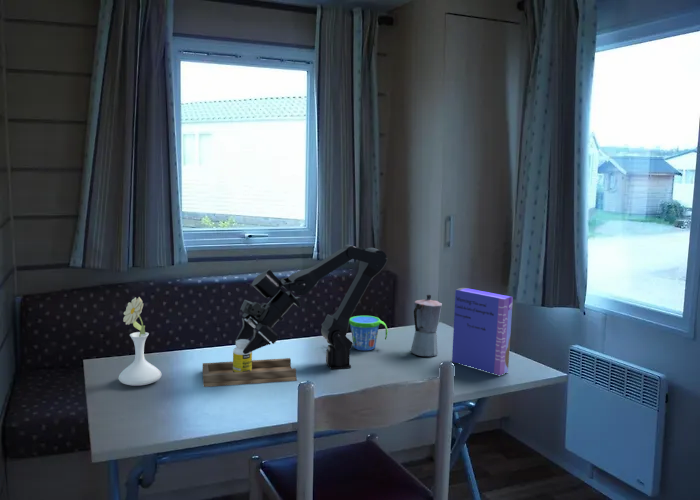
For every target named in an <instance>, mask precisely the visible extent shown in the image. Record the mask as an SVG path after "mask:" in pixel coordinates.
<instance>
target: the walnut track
mask: <svg viewBox="0 0 700 500" xmlns="http://www.w3.org/2000/svg"><path fill="white" fill-rule="evenodd" d="M291 360H292V359H291V358H290V357H289V358H288V357H287V358H286V357H285V358H271V359H252V371H246V372H233V361H219V362H202V383H203V384H202V385H203V388H207V387H210V388H211V387H225V386H236V385H237V386H238V385H239V386H240V385H252V384H253V385H254V384H267V383H268V384H269V383H280V382H295V381H296V382H297V381H298V380H297V379H298V378H297V369H296V368H295V367H294V368H292V366H291V365H292V363H291Z"/></svg>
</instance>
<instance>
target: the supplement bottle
mask: <svg viewBox="0 0 700 500" xmlns="http://www.w3.org/2000/svg"><path fill="white" fill-rule="evenodd" d="M235 341H236V340H235ZM249 342H250V340H249V339H247V340H246V339H240V340H237V341H236V344H235V347H234V349H233V351H232V362H233V372H246V371H252V360H253V351H252V352H249V353H247V354H244V353H243V350H244V349H245V347H246V346H247V344H248V343H249Z"/></svg>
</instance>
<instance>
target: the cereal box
mask: <svg viewBox="0 0 700 500" xmlns="http://www.w3.org/2000/svg"><path fill="white" fill-rule="evenodd" d="M513 298H514V297H513V296H509V295H503V294H499V293H493V292H489V291H484V290H483V291H482V290H478V289H472V288H468V287H459V288H457V289H455V293H454V317H453V333H452V334H453V336H452V355H451V363H453V362H454V363H453V364H456V363H460V364H463V365H467V366H471V367H474V368H477V369H481V370H484V371H487V372H490V373H494V374H497V375H502V374H504V373H507V372H508V373H509V361H510V345H511V333H512V332H511V331H512V330H511V329H512V317H513V315H512V314H513V313H512V312H513V304H514V303H513V302H514V301H513V300H514V299H513ZM463 365H462V366H463ZM508 373H507V374H508ZM502 376H503V375H502Z"/></svg>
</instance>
